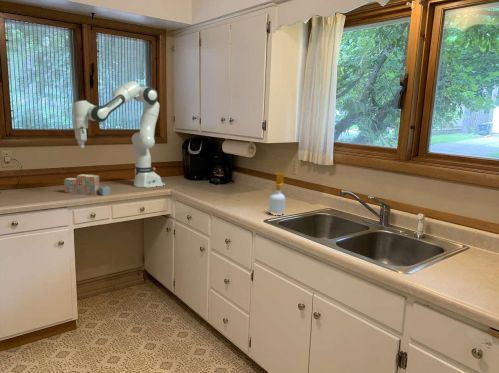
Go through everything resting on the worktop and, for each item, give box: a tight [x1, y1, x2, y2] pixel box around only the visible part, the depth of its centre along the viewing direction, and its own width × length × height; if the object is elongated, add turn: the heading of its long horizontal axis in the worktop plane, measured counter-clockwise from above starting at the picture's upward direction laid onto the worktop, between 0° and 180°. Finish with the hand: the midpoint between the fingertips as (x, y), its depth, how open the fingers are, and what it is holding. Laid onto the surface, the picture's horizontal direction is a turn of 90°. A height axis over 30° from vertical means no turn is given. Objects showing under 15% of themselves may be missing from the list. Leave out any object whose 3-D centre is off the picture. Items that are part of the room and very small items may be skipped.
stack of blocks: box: [63, 173, 100, 196], centre depth 256 cm, size 21×6×12 cm, turn 83°
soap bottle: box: [268, 172, 286, 213], centre depth 224 cm, size 9×9×25 cm
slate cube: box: [98, 185, 111, 196], centre depth 256 cm, size 5×5×5 cm
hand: (81, 146), depth 252 cm, fingers open, 8 cm apart
